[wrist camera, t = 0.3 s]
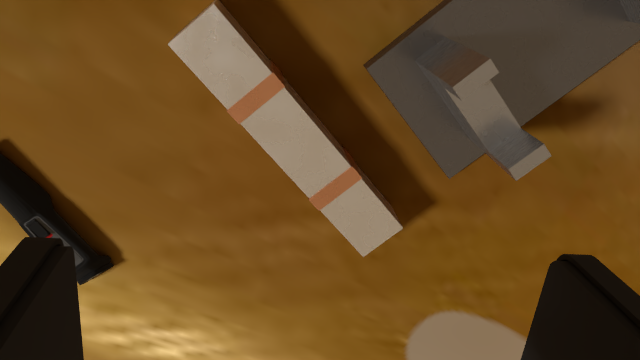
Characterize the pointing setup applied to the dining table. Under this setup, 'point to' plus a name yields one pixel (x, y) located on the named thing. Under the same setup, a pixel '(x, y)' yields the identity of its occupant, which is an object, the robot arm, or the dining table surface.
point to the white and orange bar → (284, 126)
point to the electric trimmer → (45, 219)
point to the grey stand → (497, 72)
